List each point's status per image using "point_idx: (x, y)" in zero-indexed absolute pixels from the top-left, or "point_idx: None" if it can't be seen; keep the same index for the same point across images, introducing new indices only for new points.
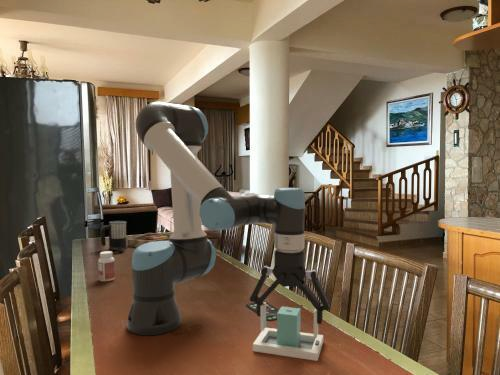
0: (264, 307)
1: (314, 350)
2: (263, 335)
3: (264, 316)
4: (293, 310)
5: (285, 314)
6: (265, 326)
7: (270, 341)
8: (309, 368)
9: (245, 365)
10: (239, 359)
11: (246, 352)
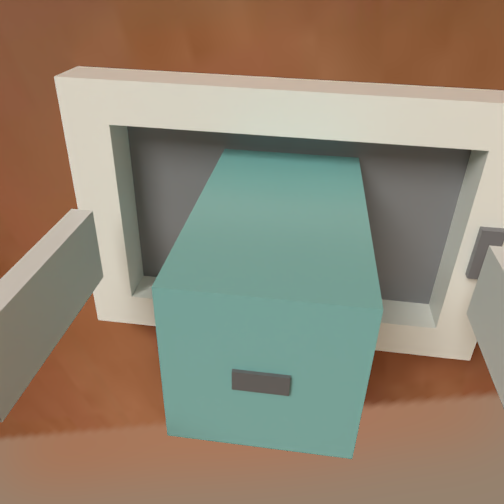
0: (9, 368)
1: (454, 333)
2: (107, 212)
3: (53, 308)
4: (305, 365)
5: (244, 444)
6: (91, 230)
7: (162, 185)
8: (412, 389)
9: (137, 398)
10: (92, 364)
11: (90, 310)
